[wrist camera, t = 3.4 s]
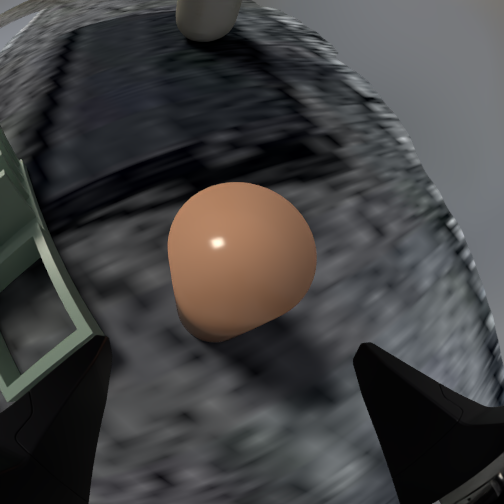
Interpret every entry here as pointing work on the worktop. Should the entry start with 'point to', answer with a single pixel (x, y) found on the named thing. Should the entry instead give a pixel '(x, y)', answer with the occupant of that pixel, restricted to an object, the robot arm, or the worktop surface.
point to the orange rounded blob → (238, 259)
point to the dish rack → (23, 256)
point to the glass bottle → (206, 18)
